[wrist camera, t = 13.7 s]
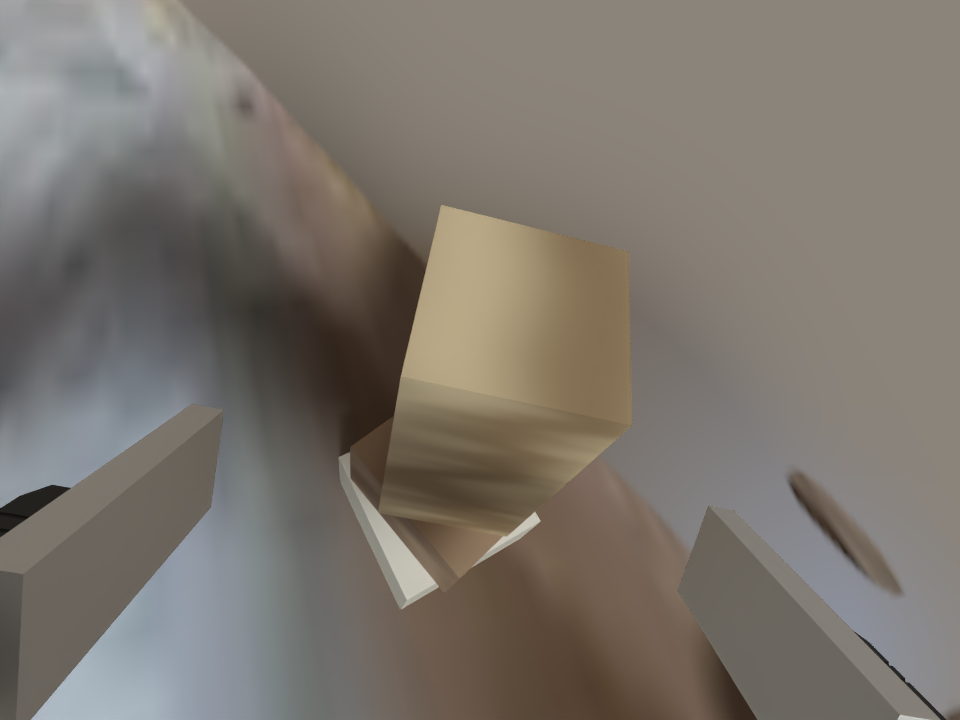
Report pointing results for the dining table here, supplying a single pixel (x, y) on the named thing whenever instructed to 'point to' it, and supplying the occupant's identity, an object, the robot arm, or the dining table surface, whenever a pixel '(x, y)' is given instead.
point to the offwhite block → (393, 554)
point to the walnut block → (430, 543)
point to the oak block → (507, 373)
